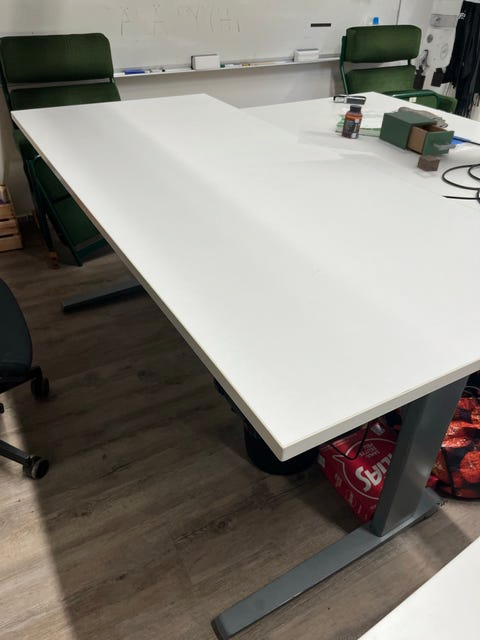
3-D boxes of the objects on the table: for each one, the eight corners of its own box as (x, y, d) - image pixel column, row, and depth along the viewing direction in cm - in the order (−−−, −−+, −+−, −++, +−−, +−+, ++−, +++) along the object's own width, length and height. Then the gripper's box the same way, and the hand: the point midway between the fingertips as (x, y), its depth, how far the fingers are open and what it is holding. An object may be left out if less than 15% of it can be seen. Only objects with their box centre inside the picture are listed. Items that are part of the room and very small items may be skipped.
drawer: (457, 157, 158) (464, 134, 154) (432, 160, 155) (439, 137, 150) (421, 142, 171) (427, 120, 167) (398, 144, 168) (403, 122, 163)
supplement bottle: (357, 142, 171) (365, 108, 165) (340, 139, 172) (347, 106, 165) (356, 138, 176) (364, 105, 170) (340, 136, 176) (347, 103, 170)
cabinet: (430, 148, 169) (437, 121, 163) (404, 151, 165) (410, 123, 160) (404, 136, 179) (410, 111, 174) (378, 139, 176) (383, 112, 170)
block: (426, 169, 150) (430, 155, 148) (436, 173, 147) (440, 159, 145) (415, 170, 149) (419, 156, 146) (425, 175, 146) (429, 160, 143)
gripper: (438, 24, 129) (420, 93, 139) (470, 23, 138) (452, 87, 148) (414, 21, 133) (399, 88, 143) (447, 20, 142) (431, 83, 153)
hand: (426, 88), depth 146 cm, fingers open, 9 cm apart
